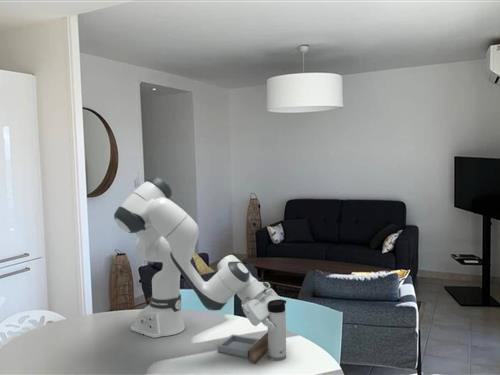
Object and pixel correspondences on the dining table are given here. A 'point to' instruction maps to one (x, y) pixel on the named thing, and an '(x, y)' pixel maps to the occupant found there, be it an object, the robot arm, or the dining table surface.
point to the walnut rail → (258, 349)
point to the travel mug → (277, 330)
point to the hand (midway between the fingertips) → (278, 325)
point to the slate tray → (237, 346)
